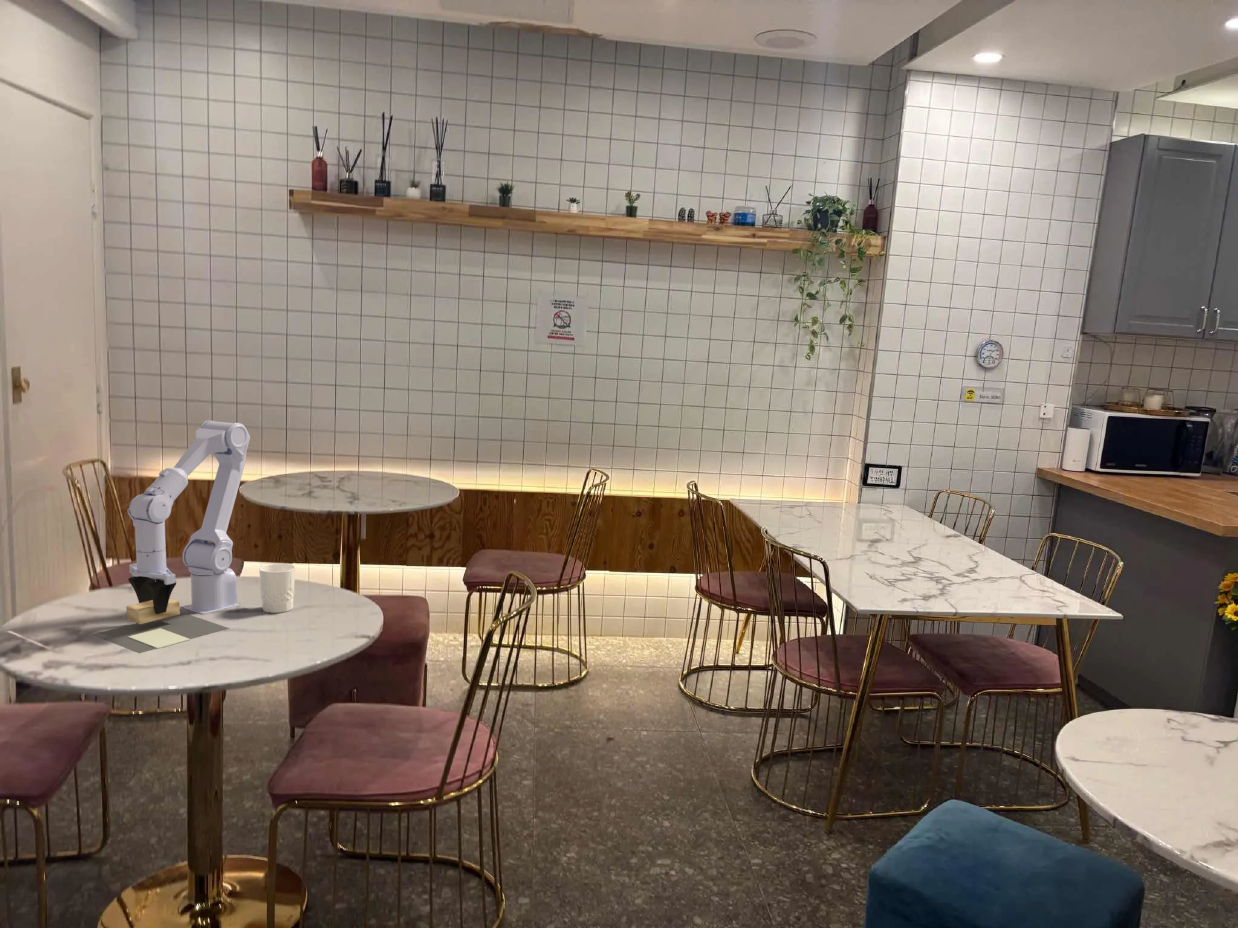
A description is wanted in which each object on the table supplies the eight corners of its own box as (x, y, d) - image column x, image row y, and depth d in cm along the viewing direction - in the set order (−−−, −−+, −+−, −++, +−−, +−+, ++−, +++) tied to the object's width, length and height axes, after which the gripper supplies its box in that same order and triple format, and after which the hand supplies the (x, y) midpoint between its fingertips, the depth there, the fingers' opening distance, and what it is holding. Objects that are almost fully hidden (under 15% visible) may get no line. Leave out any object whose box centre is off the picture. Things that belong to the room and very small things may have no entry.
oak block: (166, 609, 203) (166, 596, 203) (179, 614, 201) (179, 601, 200) (126, 619, 196) (126, 606, 195) (139, 624, 193) (139, 610, 193)
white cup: (258, 614, 210) (257, 572, 208) (261, 604, 217) (261, 564, 216) (294, 613, 212) (293, 571, 210) (296, 603, 219) (296, 563, 218)
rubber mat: (182, 613, 208) (182, 611, 208) (231, 630, 198) (231, 627, 198) (92, 635, 191) (92, 633, 191) (140, 655, 181) (140, 652, 181)
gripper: (114, 547, 197) (117, 608, 199) (151, 558, 189) (154, 621, 191) (146, 541, 202) (148, 600, 204) (183, 552, 195) (186, 613, 197)
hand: (153, 610), depth 198 cm, fingers closed on oak block, 5 cm apart
